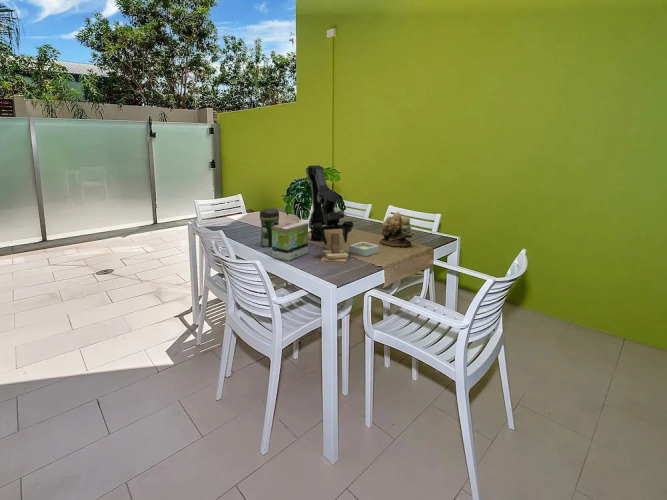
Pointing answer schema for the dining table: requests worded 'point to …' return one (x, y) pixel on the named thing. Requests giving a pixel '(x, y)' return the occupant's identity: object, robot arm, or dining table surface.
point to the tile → (334, 259)
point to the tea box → (289, 240)
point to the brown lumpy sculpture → (396, 231)
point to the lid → (335, 248)
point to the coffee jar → (268, 225)
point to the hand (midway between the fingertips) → (336, 243)
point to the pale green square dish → (364, 249)
